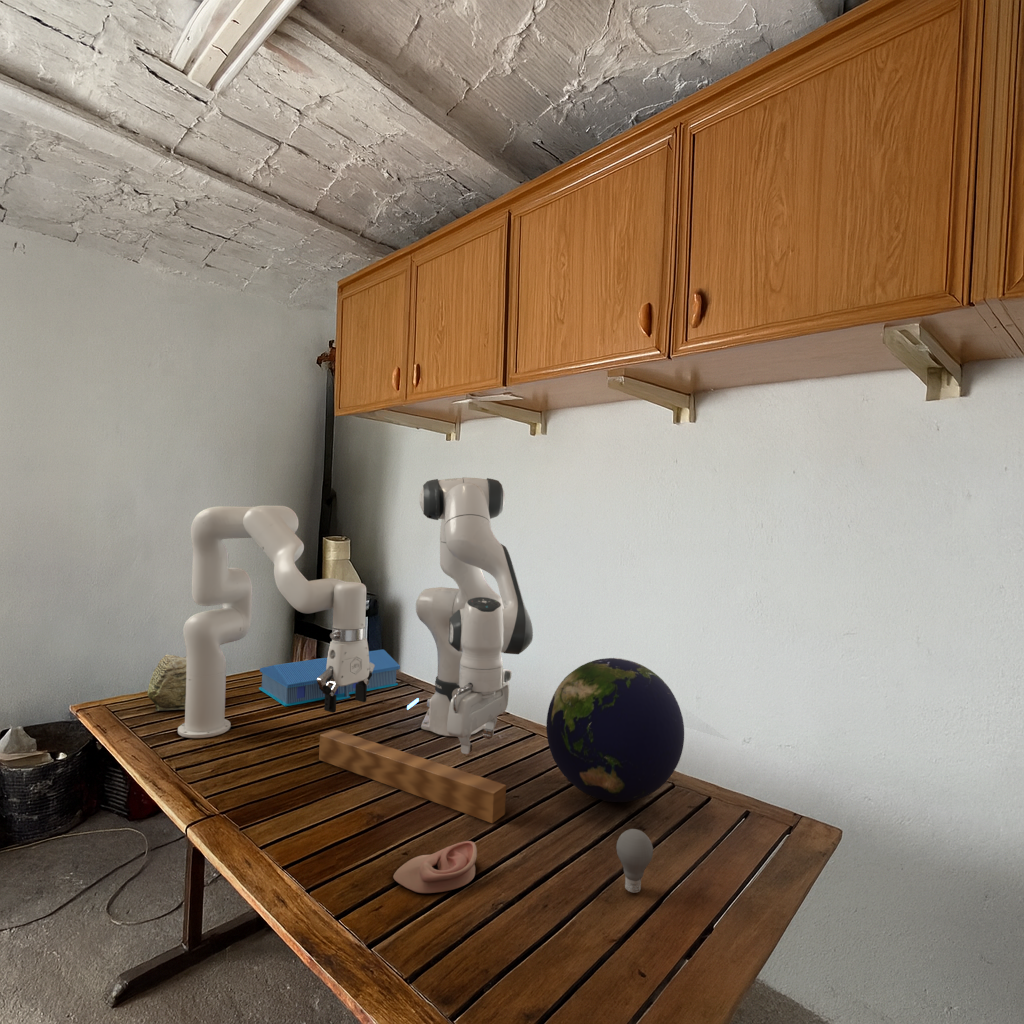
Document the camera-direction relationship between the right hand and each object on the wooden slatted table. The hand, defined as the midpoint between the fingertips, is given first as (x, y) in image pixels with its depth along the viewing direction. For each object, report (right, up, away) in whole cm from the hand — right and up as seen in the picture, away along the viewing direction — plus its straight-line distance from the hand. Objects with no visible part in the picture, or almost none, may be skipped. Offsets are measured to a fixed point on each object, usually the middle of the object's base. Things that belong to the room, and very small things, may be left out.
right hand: (477, 745), depth 130 cm
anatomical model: (-6, -14, -23) cm, 27 cm away
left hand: (-33, +2, +20) cm, 38 cm away
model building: (-52, -10, +77) cm, 94 cm away
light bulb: (+27, -15, -25) cm, 40 cm away
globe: (+29, -15, +10) cm, 34 cm away
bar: (-17, -13, +11) cm, 24 cm away
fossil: (-89, -9, +55) cm, 105 cm away
